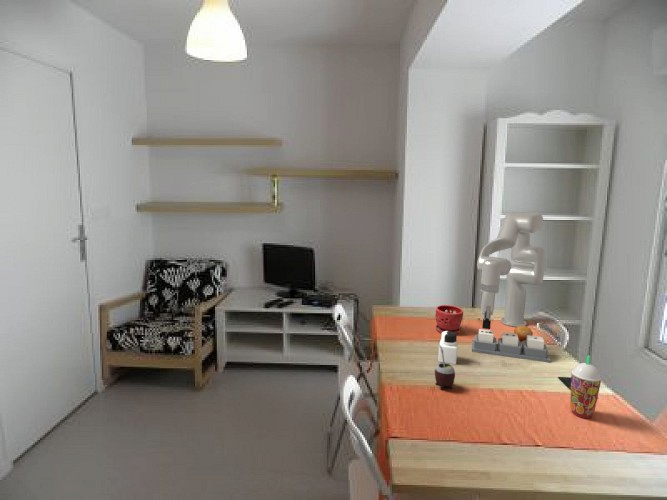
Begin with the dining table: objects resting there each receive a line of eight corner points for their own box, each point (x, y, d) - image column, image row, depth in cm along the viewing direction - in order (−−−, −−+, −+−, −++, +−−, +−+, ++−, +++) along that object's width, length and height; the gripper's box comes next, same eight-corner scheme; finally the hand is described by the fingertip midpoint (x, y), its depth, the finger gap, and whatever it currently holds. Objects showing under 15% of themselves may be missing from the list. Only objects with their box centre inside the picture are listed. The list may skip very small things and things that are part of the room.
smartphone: (575, 377, 160) (597, 396, 145) (575, 379, 160) (597, 399, 145) (557, 376, 160) (577, 395, 145) (557, 378, 160) (577, 398, 145)
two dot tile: (501, 340, 186) (502, 331, 186) (516, 342, 184) (517, 333, 184) (502, 345, 181) (503, 336, 180) (517, 347, 179) (518, 338, 178)
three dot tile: (478, 337, 190) (479, 328, 189) (492, 339, 188) (493, 330, 187) (478, 342, 184) (479, 333, 183) (492, 344, 182) (493, 335, 181)
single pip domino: (526, 343, 183) (527, 334, 182) (541, 345, 181) (542, 336, 181) (527, 348, 178) (528, 339, 177) (543, 350, 176) (544, 341, 175)
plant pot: (432, 334, 203) (434, 310, 201) (436, 325, 215) (438, 303, 213) (460, 338, 198) (462, 314, 196) (462, 329, 210) (464, 306, 208)
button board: (472, 342, 193) (472, 333, 193) (545, 352, 183) (546, 342, 183) (471, 351, 183) (472, 341, 182) (549, 362, 173) (551, 352, 172)
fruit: (526, 333, 202) (531, 323, 197) (531, 347, 196) (536, 336, 191) (509, 332, 203) (513, 322, 198) (513, 346, 197) (517, 335, 192)
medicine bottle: (456, 357, 177) (458, 330, 175) (455, 364, 170) (457, 336, 168) (439, 355, 179) (441, 328, 177) (438, 361, 172) (439, 334, 170)
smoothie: (561, 407, 139) (567, 350, 136) (584, 406, 140) (591, 350, 136) (577, 421, 131) (585, 361, 127) (602, 420, 132) (610, 361, 128)
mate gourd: (450, 393, 147) (453, 353, 144) (429, 387, 151) (431, 348, 148) (456, 384, 153) (459, 346, 151) (435, 379, 157) (438, 341, 155)
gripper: (480, 283, 190) (477, 322, 193) (480, 291, 176) (477, 332, 179) (498, 285, 187) (494, 324, 190) (499, 293, 173) (495, 335, 176)
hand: (486, 328), depth 184 cm, fingers closed
